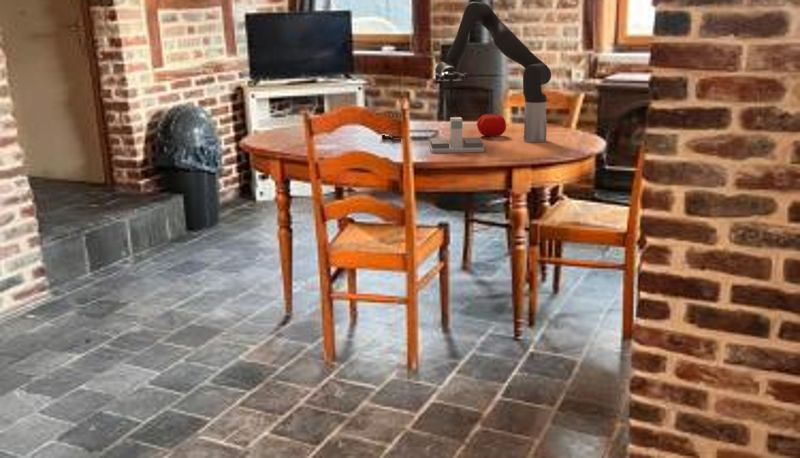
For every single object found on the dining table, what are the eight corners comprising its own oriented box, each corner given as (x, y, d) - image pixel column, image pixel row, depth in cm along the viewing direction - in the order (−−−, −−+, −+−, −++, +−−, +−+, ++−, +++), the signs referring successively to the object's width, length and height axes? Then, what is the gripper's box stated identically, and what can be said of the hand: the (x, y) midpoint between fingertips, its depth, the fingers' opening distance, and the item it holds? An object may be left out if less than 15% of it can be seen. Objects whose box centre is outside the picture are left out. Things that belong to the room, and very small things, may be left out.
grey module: (461, 145, 330) (461, 117, 327) (462, 147, 325) (462, 118, 321) (450, 145, 330) (450, 117, 326) (451, 147, 325) (451, 119, 321)
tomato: (505, 134, 362) (505, 111, 359) (506, 138, 351) (506, 115, 348) (476, 134, 364) (476, 111, 361) (476, 138, 352) (476, 115, 349)
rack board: (479, 144, 336) (479, 136, 335) (484, 151, 320) (484, 143, 319) (429, 146, 335) (428, 138, 334) (431, 152, 320) (431, 144, 319)
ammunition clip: (405, 138, 356) (404, 112, 353) (405, 139, 354) (404, 112, 351) (381, 138, 356) (381, 112, 353) (381, 139, 355) (380, 113, 351)
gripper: (433, 66, 350) (436, 69, 334) (465, 66, 350) (469, 68, 335) (433, 83, 352) (436, 87, 337) (465, 82, 352) (469, 86, 337)
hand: (452, 78), depth 336 cm, fingers open, 8 cm apart
